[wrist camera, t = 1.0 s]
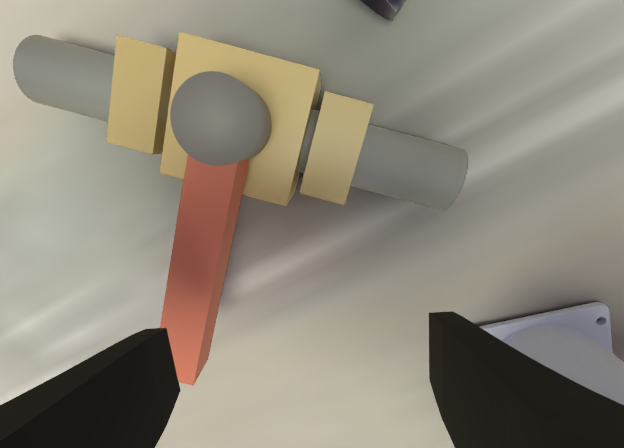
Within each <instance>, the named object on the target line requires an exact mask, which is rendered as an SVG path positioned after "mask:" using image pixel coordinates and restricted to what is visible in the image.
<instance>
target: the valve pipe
mask: <svg viewBox="0 0 624 448" xmlns="http://www.w3.org/2000/svg"><path fill="white" fill-rule="evenodd" d="M13 70H14V75H15V79H16V82H17V84H18V86H19V88H20V89H21V91H22V92H23V93H24V94H25V95H26V96H27V97H28V98H29V99H31V100H32V101H34V102H37V103H40V104H44V105H48V106H52V107H55V108H59V109H63V110H67V111H70V112H74V113H78V114H82V115H85V116H89V117H93V118H97V119H100V120H104V121H108V129H107V139H106V142H108V143H112V144H116V145H119V146H123V147H127V148H131V149H134V150H138V151H142V152H146V153H149V154H162V159H161V166H160V173H162V174H166V175H169V176H173V177H177V178H181V179H184V174H185V168H186V162H187V156H188V154H187V153H186V152H185V151H184V150H183V149H182V147H181V146H180V145H179V143H178V142H177V140H176V138H175V136H174V133H173V130H172V127H171V121H170V110H171V104H172V100H173V98H174V95H175V93H176V91H177V90H178V88H179V87H180V86H181V85H182V84H183V82H185V81H186V80H187V79H188V78H190V77H192V76H193V75H196V74H198V73H202V72H207V71H217V72H222V73H225V74H228V75H230V76H232V77H234V78H236V79H237V80H239V81H240V82H242V83H243V84H245V85H246V86H248V87H249V88H251V89H252V90H254V91H255V92H256V93H258V94H259V95H260V96H261V98H262V99H263V100H264V102H265V103H266V105H267V107H268V109H269V112H270V116H271V133H270V137H269V140H268V142H267V144H266V145H265V147H264V148H263V149H262V151H261V152H260V153H258V154H257V155H256V156H254V157H252V158H250V159H249V164H248V168H247V173H246V178H245V183H244V188H243V192H242V195H245V196H249V197H253V198H256V199H260V200H264V201H268V202H271V203H275V204H279V205H283V206H287V205H288V203H289V201H290V200H291V198H292V197H293V195H294V193H295V191H296V186H297V182H298V178H299V174H300V173H303V174H304V176H303V180H302V184H301V188H300V192H299V193H300V194H304V195H308V196H312V197H315V198H319V199H323V200H327V201H330V202H334V203H338V204H342V205H345V202H346V199H347V195H348V192H349V188H350V186H352V187H356V188H359V189H363V190H367V191H371V192H374V193H378V194H382V195H386V196H389V197H393V198H397V199H401V200H404V201H408V202H412V203H416V204H420V205H423V206H427V207H431V208H435V209H438V210H446V209H447V208H449V207H450V206H451V205H452V204H453V202H454V201H455V199H456V198H457V196H458V194H459V193H460V190H461V188H462V186H463V183H464V180H465V177H466V173H467V168H468V156H467V153H466V151H465V150H463V149H460V148H456V147H452V146H448V145H445V144H441V143H437V142H434V141H430V140H426V139H423V138H419V137H415V136H411V135H408V134H404V133H400V132H397V131H393V130H389V129H385V128H382V127H378V126H374V125H371V124H368V123H369V119H370V116H371V113H372V109H373V106H374V104H371V103H367V102H364V101H360V100H356V99H353V98H349V97H345V96H342V95H338V94H334V93H330V92H327V91H325V93H324V97H323V101H322V105H321V109H320V111H319V110H316V106H317V102H318V98H319V94H320V90H321V86H322V84H321V76H320V70H319V69H315V68H312V67H308V66H304V65H301V64H297V63H293V62H290V61H286V60H282V59H279V58H275V57H271V56H268V55H264V54H260V53H257V52H253V51H249V50H246V49H242V48H238V47H235V46H231V45H227V44H224V43H220V42H216V41H213V40H209V39H205V38H202V37H198V36H194V35H191V34H187V33H183V32H179V38H178V45H177V52H176V53H174V52H173V51H171V50H169V49H167V48H164V47H161V46H157V45H153V44H150V43H146V42H142V41H139V40H135V39H131V38H128V37H124V36H120V35H117V36H116V46H115V55H111V54H108V53H104V52H100V51H96V50H93V49H89V48H85V47H82V46H78V45H74V44H71V43H67V42H63V41H59V40H56V39H52V38H48V37H45V36H41V35H32V36H29V37H27V38H25V39H24V40H23V41H22V42H21V43H20V44H19V45H18V47H17V49H16V51H15V54H14V59H13Z"/></svg>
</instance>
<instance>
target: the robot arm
mask: <svg viewBox="0 0 624 448" xmlns="http://www.w3.org/2000/svg"><path fill="white" fill-rule="evenodd" d="M600 317H601V318H600ZM598 318H600V320H599V321H597V319H598ZM429 372H430V382H431V386H432V389H433V392H434V395H435V399H436V402H437V405H438V408H439V411H440V414H441V417H442V419H443V422H444V424H445V426H446V428H447V431H448V433H449V435H450V437H451V440H452V442H453V444H454V446H455V448H624V362H623V361H622V360H621V359H619V358H618V357H617V356H615V355H614V354H613V350H612V336H611V323H610V311H609V308H608V307H607V306H606V305H604V304H603V303H600V302H594V303H589V304H584V305H579V306H575V307H570V308H565V309H560V310H555V311H551V312H546V313H541V314H536V315H531V316H527V317H522V318H517V319H512V320H508V321H503V322H498V323H493V324H488V325H484V326H479V327H478V326H477V325H475V324H474V323H472V322H470V321H469V320H467V319H465V318H464V317H462V316H460V315H458V314H457V313H455V312H436V313H429ZM179 392H180V387H179V382H178V378H177V373H176V369H175V364H174V360H173V355H172V351H171V346H170V342H169V337H168V332H167V328H157V329H145V330H143V331H140V332H138V333H136V334H133V335H131V336H129V337H127V338H125V339H123V340H122V341H120V342H118V343H116V344H114V345H112V346H110V347H108V348H107V349H105V350H103V351H101V352H99V353H98V354H96V355H94V356H92V357H90V358H89V359H87V360H85V361H83V362H81V363H79V364H78V365H76V366H74V367H72V368H70V369H69V370H67V371H65V372H63V373H61V374H60V375H58V376H56V377H54V378H52V379H50V380H48V381H46V382H44V383H42V384H40V385H39V386H37V387H35V388H33V389H31V390H29V391H27V392H25V393H23V394H21V395H20V396H18V397H16V398H14V399H12V400H10V401H8V402H6V403H4V404H2V405H0V448H155V446H156V444H157V442H158V441H159V439H160V437H161V435H162V433H163V431H164V429H165V427H166V425H167V423H168V420H169V418H170V415H171V413H172V411H173V408H174V405H175V403H176V400H177V398H178V395H179Z"/></svg>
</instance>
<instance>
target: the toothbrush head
mask: <svg viewBox="0 0 624 448" xmlns="http://www.w3.org/2000/svg"><path fill="white" fill-rule="evenodd" d="M361 1H362V2H364V3H365V4H366V5H367V6H369V7H370V8H371V9H372V10H374V11H375V12H376V13H377V14H379V15H382V16H384V17H386V18H388V19H390V20H393V19H394V17H395V16H396V14H397V13H398V11H399V10H400V8H401V7H402V5H403V4H404V2H405V1H406V0H361Z"/></svg>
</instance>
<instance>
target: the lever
mask: <svg viewBox="0 0 624 448" xmlns="http://www.w3.org/2000/svg"><path fill="white" fill-rule="evenodd" d="M170 121H171V127H172V130H173V133H174V136H175V138H176V140H177V142H178V143H179V145H180V146H181V147H182V149H183V150H184V151H185V152H186V153H187V154H188V156H187V162H186V168H185V174H184V181H183V187H182V193H181V200H180V206H179V212H178V218H177V225H176V231H175V237H174V243H173V250H172V256H171V262H170V268H169V275H168V281H167V287H166V293H165V300H164V306H163V312H162V319H161V325H160V328H167V332H168V337H169V342H170V346H171V351H172V355H173V360H174V364H175V369H176V373H177V378H178V382H181V383H185V384H189V385H194V383H195V382H196V380H197V378H198V376H199V374H200V372H201V371H202V369H203V367H204V365H205V363H206V362H207V360H208V356H209V352H210V347H211V342H212V337H213V332H214V327H215V323H216V318H217V313H218V308H219V303H220V299H221V294H222V289H223V284H224V279H225V274H226V270H227V265H228V260H229V255H230V250H231V245H232V241H233V236H234V231H235V226H236V221H237V217H238V212H239V207H240V202H241V197H242V192H243V188H244V183H245V178H246V173H247V168H248V164H249V159H250V158H252V157H254V156H256V155H257V154H258V153H260V152H261V151H262V149H263V148H264V147H265V145H266V144H267V142H268V140H269V137H270V133H271V116H270V112H269V109H268V107H267V105H266V103H265V102H264V100H263V99H262V98H261V96H260V95H259V94H258V93H256V92H255V91H254V90H252V89H251V88H249V87H248V86H246V85H245V84H243V83H242V82H240V81H239V80H237V79H236V78H234V77H232V76H230V75H228V74H225V73H222V72H217V71H207V72H202V73H198V74H196V75H193V76H192V77H190V78H188V79H187V80H186V81H185V82H183V84H182V85H181V86H180V87H179V88H178V90H177V91H176V93H175V95H174V98H173V100H172V104H171V110H170Z"/></svg>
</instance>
